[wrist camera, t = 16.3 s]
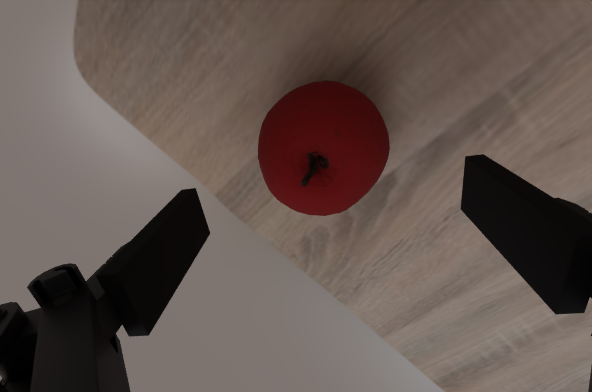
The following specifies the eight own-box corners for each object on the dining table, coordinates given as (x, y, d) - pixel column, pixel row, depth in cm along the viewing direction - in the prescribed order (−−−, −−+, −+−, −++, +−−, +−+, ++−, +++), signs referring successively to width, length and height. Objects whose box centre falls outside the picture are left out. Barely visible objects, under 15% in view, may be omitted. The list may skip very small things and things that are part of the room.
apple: (343, 199, 28) (356, 272, 19) (252, 161, 27) (218, 218, 18) (397, 105, 24) (446, 139, 15) (292, 55, 23) (276, 59, 14)
